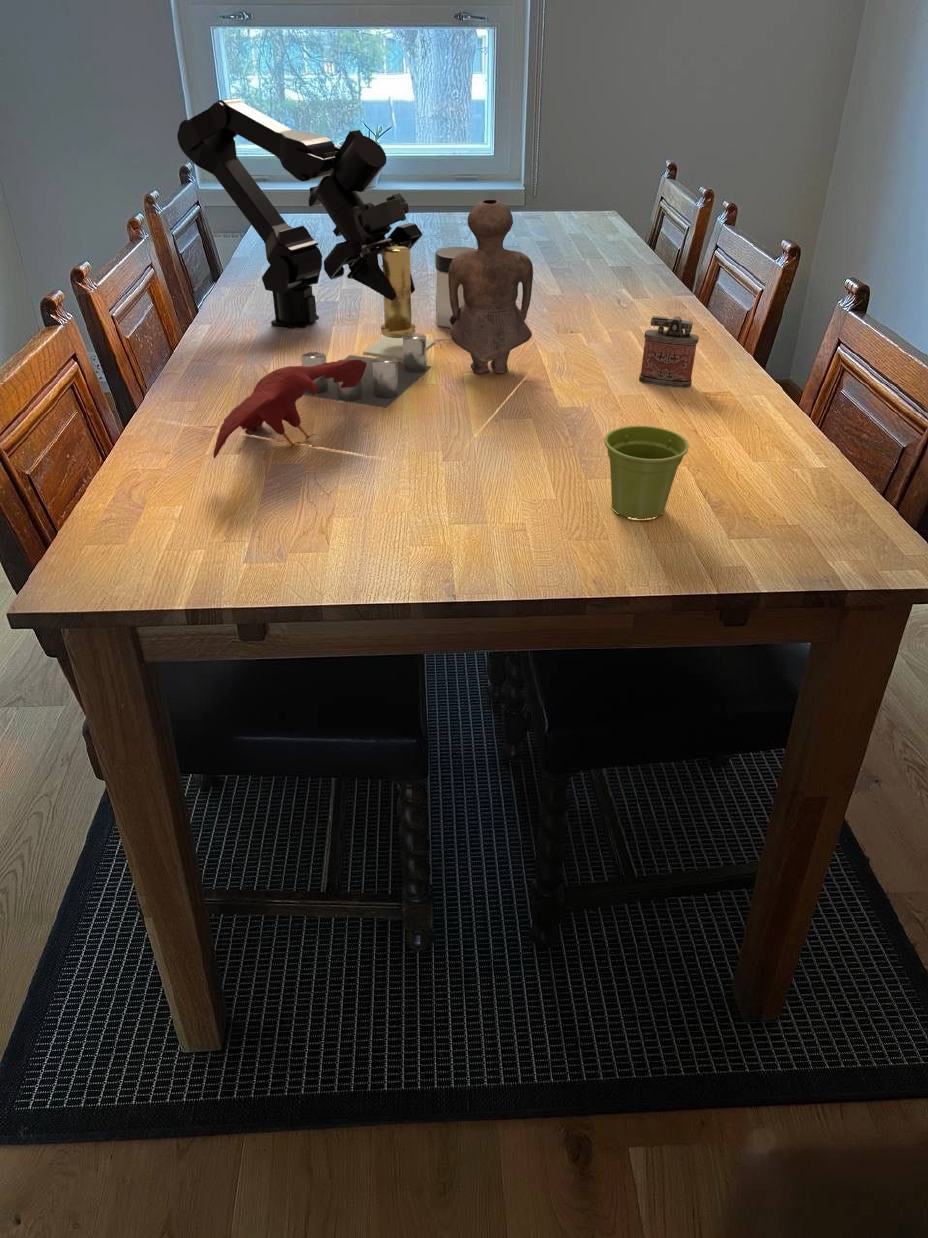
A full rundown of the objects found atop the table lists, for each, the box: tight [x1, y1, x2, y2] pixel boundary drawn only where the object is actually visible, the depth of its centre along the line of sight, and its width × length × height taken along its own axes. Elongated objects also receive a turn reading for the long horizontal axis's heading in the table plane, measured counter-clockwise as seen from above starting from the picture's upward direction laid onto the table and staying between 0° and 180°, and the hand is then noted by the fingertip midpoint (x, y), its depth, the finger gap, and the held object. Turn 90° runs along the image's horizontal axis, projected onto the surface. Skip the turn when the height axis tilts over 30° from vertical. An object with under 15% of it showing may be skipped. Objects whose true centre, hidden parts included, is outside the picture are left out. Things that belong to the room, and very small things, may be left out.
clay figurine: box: [448, 198, 534, 374], centre depth 138 cm, size 13×10×25 cm
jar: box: [434, 246, 478, 329], centre depth 161 cm, size 9×8×12 cm
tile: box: [362, 335, 435, 360], centre depth 152 cm, size 9×9×1 cm
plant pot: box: [603, 425, 690, 519], centre depth 105 cm, size 9×9×9 cm
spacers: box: [300, 332, 428, 402], centre depth 139 cm, size 14×18×5 cm
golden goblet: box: [380, 246, 416, 338], centre depth 147 cm, size 6×6×13 cm
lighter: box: [638, 315, 700, 389], centre depth 138 cm, size 8×3×10 cm, turn 71°
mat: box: [303, 354, 433, 408], centre depth 140 cm, size 14×18×1 cm
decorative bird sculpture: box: [213, 359, 367, 459], centre depth 120 cm, size 28×9×15 cm
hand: (403, 295), depth 146 cm, fingers closed on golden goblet, 4 cm apart
